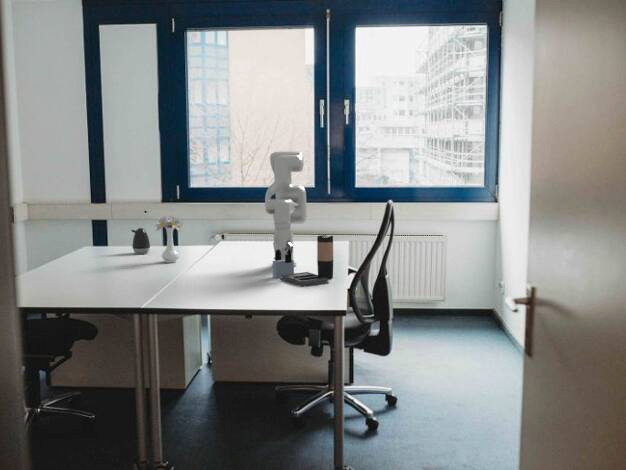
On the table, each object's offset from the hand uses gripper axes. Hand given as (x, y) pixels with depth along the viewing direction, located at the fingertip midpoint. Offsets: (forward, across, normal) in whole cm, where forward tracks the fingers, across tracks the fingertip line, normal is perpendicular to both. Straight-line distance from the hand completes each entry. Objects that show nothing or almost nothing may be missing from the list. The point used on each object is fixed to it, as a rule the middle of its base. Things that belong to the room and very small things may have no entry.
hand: (283, 261), depth 329 cm
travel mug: (+8, +13, +16) cm, 22 cm away
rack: (+8, +15, +3) cm, 17 cm away
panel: (+7, -1, +1) cm, 8 cm away
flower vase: (+6, -73, -29) cm, 79 cm away
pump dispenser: (+5, -110, -33) cm, 115 cm away
